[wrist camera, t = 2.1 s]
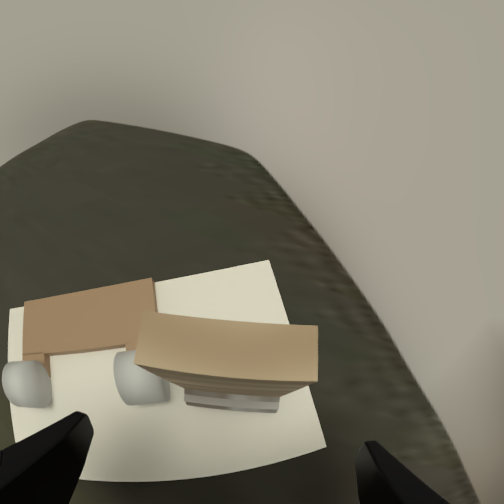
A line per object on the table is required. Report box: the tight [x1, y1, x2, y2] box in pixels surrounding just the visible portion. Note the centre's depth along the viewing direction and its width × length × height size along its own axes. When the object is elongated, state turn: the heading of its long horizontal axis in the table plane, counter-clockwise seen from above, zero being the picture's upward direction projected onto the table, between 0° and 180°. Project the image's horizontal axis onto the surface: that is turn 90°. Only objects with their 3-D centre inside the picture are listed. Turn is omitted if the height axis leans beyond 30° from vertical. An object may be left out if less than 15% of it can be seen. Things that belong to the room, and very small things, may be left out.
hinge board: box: [2, 260, 327, 482], centre depth 15 cm, size 14×23×4 cm, turn 104°
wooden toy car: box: [134, 311, 318, 413], centre depth 12 cm, size 3×5×11 cm
